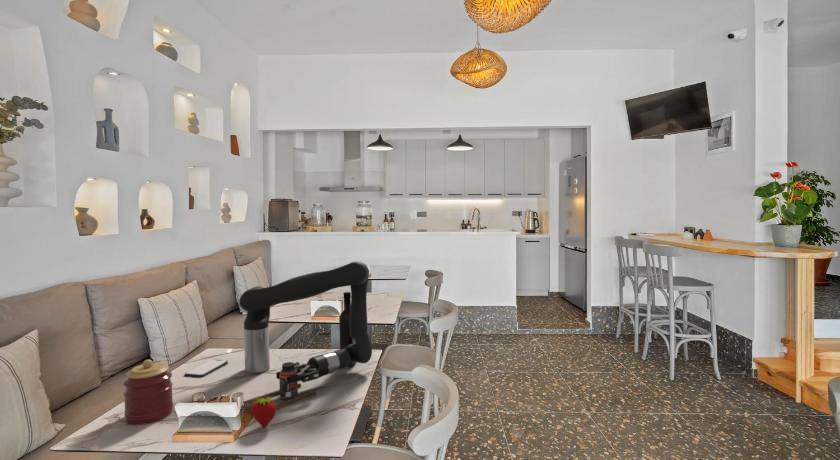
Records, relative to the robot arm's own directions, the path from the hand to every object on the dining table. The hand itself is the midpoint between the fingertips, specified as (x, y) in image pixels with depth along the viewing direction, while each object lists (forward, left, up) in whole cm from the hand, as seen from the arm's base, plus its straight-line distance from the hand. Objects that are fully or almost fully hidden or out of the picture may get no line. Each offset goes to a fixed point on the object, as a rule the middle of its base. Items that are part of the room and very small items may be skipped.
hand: (281, 378), depth 143 cm
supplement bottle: (0, +3, -7) cm, 8 cm away
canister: (-21, -34, -7) cm, 40 cm away
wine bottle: (-10, +35, -7) cm, 37 cm away
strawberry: (+13, -13, -7) cm, 20 cm away
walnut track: (0, -1, -7) cm, 7 cm away
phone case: (-49, -6, -8) cm, 50 cm away
